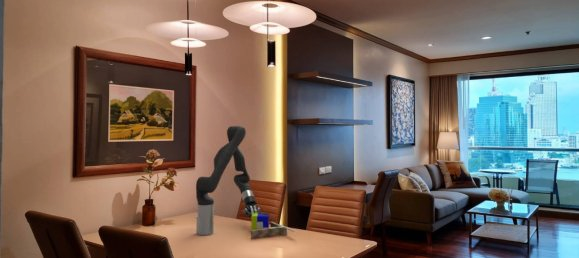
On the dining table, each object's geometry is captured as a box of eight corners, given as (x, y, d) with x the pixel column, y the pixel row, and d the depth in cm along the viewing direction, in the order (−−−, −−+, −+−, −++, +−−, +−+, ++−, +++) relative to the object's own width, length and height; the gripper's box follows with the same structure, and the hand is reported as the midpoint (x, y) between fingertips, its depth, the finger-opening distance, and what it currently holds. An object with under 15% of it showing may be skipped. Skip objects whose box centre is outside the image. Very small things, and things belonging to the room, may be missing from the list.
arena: (261, 244, 220) (261, 234, 220) (240, 232, 245) (240, 224, 245) (296, 239, 230) (296, 230, 230) (273, 228, 255) (273, 221, 255)
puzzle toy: (268, 233, 244) (268, 216, 244) (251, 233, 244) (251, 216, 244) (269, 229, 254) (269, 213, 254) (252, 229, 254) (252, 213, 254)
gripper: (240, 196, 259) (248, 219, 248) (259, 194, 266) (268, 217, 255) (237, 203, 264) (244, 226, 253) (256, 201, 270) (264, 224, 260)
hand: (256, 221), depth 254 cm, fingers closed
